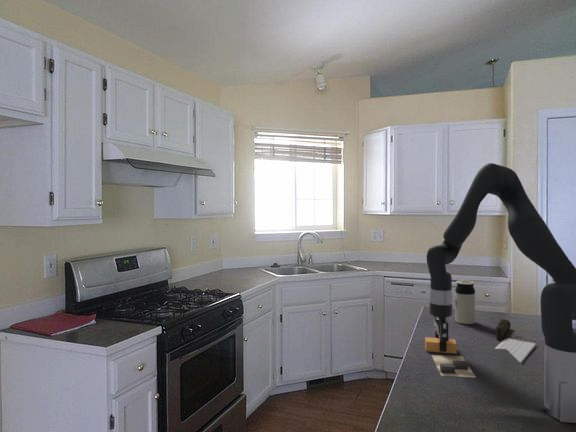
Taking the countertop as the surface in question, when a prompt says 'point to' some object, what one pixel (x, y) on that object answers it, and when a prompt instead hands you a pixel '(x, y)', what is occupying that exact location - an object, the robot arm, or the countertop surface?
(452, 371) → the charcoal stick
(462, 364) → the charcoal stick
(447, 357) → the plywood board
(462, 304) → the travel mug
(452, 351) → the block
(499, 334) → the brown pointed piece
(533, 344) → the baseboard
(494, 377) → the countertop surface
